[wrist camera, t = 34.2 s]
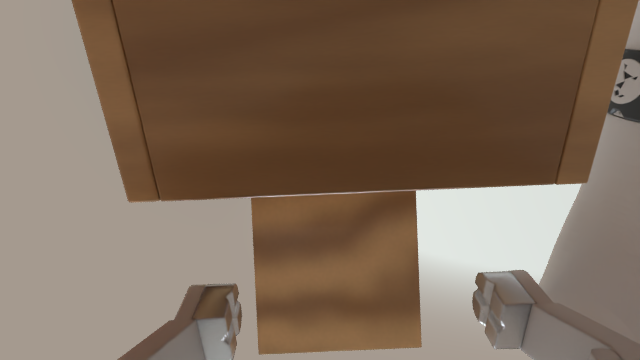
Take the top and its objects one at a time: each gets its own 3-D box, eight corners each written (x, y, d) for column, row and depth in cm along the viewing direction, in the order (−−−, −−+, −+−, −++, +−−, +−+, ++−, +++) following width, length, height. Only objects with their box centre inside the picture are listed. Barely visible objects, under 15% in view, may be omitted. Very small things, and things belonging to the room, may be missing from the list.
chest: (-22, -321, 6) (127, 204, 10) (739, -351, 6) (588, 184, 10) (228, -66, 24) (246, 86, 28) (419, -74, 24) (410, 79, 28)
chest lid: (258, 354, 28) (267, 327, 33) (421, 347, 29) (406, 321, 34) (245, 90, 28) (256, 103, 33) (411, 83, 28) (397, 96, 33)
